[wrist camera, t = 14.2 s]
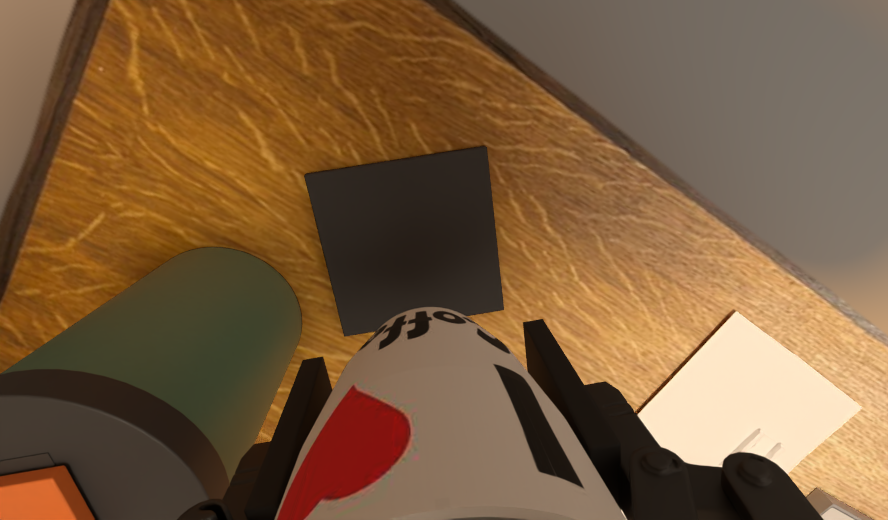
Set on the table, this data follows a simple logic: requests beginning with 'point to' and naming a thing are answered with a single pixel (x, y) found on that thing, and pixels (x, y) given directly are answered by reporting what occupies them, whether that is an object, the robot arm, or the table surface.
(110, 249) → the table surface
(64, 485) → the lid slider
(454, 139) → the table surface
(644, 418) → the paper
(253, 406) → the travel mug
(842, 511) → the computer keyboard
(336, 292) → the coaster
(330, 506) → the cup
